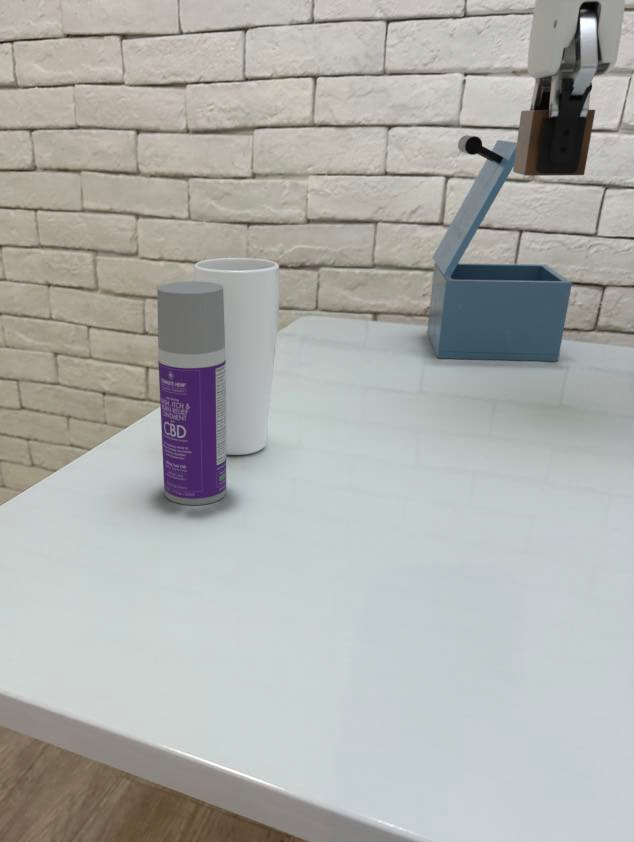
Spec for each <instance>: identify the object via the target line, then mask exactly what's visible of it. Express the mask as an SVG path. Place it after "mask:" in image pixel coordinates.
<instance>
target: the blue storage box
mask: <svg viewBox="0 0 634 842" xmlns="http://www.w3.org/2000/svg"><path fill="white" fill-rule="evenodd" d="M432 273H433V276H432V283H431V293H430V303H429V311H428V323H427V331H426V333H427V336H428V338H429V341H430V343H431V346H432V348H433V350H434V353H435V356H436V358H437V359H447V360H448V359H451V360H452V359H453V360H454V359H455V360H492V361H493V360H494V361H529V362H530V361H531V362H558V361H559V357H560V352H561V346H562V340H563V335H564V331H565V330H564V329H565V324H566V319H567V314H568V307H569V302H570V297H571V291H572V285H573V282H572V281H570V280H569V279H567V278H566V277H564V276H563V275H562V274H560V273H559V272H557V271H556V270H555V269H553V268H552V267H550V266H549V265H547V264H537V263H536V264H531V263H530V264H527V263H522V264H521V263H516V264H515V263H461V262H459V263H458V264H457V266H456V268H455V270H454V271H453V273H452V275H451V277H450V278H449V277H447V276H445V275H444V274H443V273H442V271H441V270H440V268H439V267H438V265H437V264H436V262H434V265H433V272H432Z"/></svg>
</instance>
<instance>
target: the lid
mask: <svg viewBox="0 0 634 842" xmlns="http://www.w3.org/2000/svg"><path fill="white" fill-rule="evenodd" d="M516 146H517V142H516V141H515V142H514V141H509V140H508V141H507V140H502V139H501V140H500V139H497V141H496V142H495V144H494V145H493V148H492V149H491V150H490V149H489V148H487V147H485V146H483V141H482V139H481V138H480V137H479V136H477V135H476V136H475V135H467V134H466V135H463V136H462V137H460V139H459V140H458V142H457V148H458V151H459V152H461V153H462V154H463V153H464V154H467V155H470V156H474V155H475V156H476V155H479V156H480V157H482V158H484V159H486V160H485V162H484V164H483V166H482V168H481V169H480V171H479V173H478V175H477V176H476V178H475V180H474V181H473V183H472V184H471V185H472V186H471V187H470V189H469V191H468V193H467V194H466V196H465V198H464V200H463V201H462V203H461V205H460V207H459V209H458V210H457V212H456V214H455V216H454V218H453V219H452V221H451V223H450V225H449V227H448V228H447V230H446V232H445V234H444V235H443V238H442V239H441V241H440V243H439V244H438V246H437V248H436V250H435V252H434V254H433V255H432V256H431V257H432V260H433V261H434V263H436V264H437V265H438V267H439V268H440V270H441V271H442V273H443V274H444V275H445V276H447V277H449V278H450V277H451V275H452V273H453V271H454V270H455V268H456V266H457V264H458V263H460V261H461V259H462V257H463V256H464V255H465V252H466V251H467V249H468V247H469V245H470V243H471V242H472V240H473V238H474V237H475V235H476V233H477V231H478V229H479V228H480V226H481V224H482V222H483V220H484V219H485V218H486V215H487V213H488V212H489V210H490V208H491V207H492V205H493V203H494V201H495V200H496V198H497V196H498V194H499V193H500V191H501V190H502V188H503V186H504V184H505V182H506V181H507V179H508V177H509V176H510V173H511V172H512V171H513V168H514V161H515V153H516Z"/></svg>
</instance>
